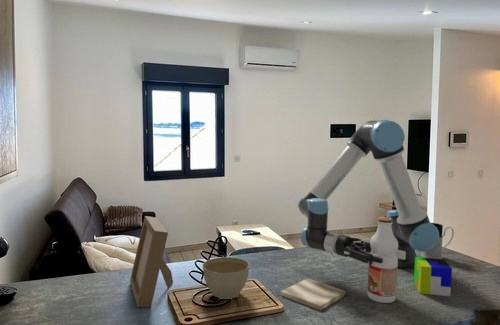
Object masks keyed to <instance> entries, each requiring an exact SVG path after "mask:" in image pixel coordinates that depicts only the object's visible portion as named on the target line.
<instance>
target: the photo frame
mask: <svg viewBox="0 0 500 325" xmlns="http://www.w3.org/2000/svg"><path fill="white" fill-rule="evenodd" d="M140 231H141V232H140V235H139V239H138V245H137V249H136V253H135V257H134V262H133V266H132V269H131V275H130V277H129V278H130V279H129V283H130V287H131V289H132V294H133V297H134V300H135V304H136V307H137V308H139V307H140V308H152V303H153V300H154V296H155V292H156V287H157V284H158V283H157V282H158V279H159V274H160V272H161V275H162V277H163V280H164V282H165V284H166V287H167V288H170V287H171V285H172V284H173V283H174V280H173V275H172V274H173V273H172V270H171V269H170V268H169V266H168V265H167V263H166V261H165V260H164V259H163V257H164V252H165V248H166V244H167V241H168V240H167V239H168V234H169V232H168V231H167V229H166V228H165V227H164V225H163V224H162V223H161V221H160V220H159V219H158V217H154V216H149V215H148V216H147V215H144V219H143V222H142V226H141V230H140Z"/></svg>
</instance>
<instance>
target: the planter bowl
mask: <svg viewBox="0 0 500 325" xmlns="http://www.w3.org/2000/svg"><path fill="white" fill-rule="evenodd" d="M250 265H251V264H250V263H249V261H248V260H245V259H243V258H239V257H234V256H233V257H232V256H231V257H229V256H227V257H226V256H222V257H215V258H210V259H207V260H205V262H203V264H202V269H203V270H202V271H203V278H204V281H205V282H204V283H205V284H206V287H207V288H208V290H210V292H211V296H212V297H213V296H215V297H218V298H222V299H231V300H233V299H232V298H235V297H237V298H238V297H240V295H241V292H242V290H244V288H245V286H246V283H247V282H248V278H249V272H250V271H249V270H250ZM235 299H236V298H235Z"/></svg>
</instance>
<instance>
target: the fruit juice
mask: <svg viewBox="0 0 500 325" xmlns="http://www.w3.org/2000/svg"><path fill="white" fill-rule="evenodd" d="M392 223H393V219H392V218H390V217H386V216H379V217H377V224H378V225H377V229H376V231H375V232H374V234H373V235H372V236H371V238H370V239H369V240H370V241H369V243H370V247H371V252H370V254H372V255H373V256H374V254H377V255H381V256H385V257H389V258H393V259H394V267H389V266H385V265H382V264H378V263H374V262H373V264H372V265H370V264H369V263H368V272H367V273H368V274H367V297H368V298H369V299H370V300H372V301H374V302H377V303H379V304H391V303H394V302H395V301H396V298H397V287H398V285H397V283H398V268H399V267H398V258H397V255H396V252H397V249H398V241H397V239H396V238H395V236H394V234H393V231H392Z"/></svg>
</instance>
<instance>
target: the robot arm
mask: <svg viewBox="0 0 500 325" xmlns="http://www.w3.org/2000/svg"><path fill="white" fill-rule="evenodd" d="M405 138H406V137H405V131H404V129H403V128H402V126H401V125H400V124H399V123H397V122H395V121H392V120H389V119H382V120H369V121H366V122H365V123H363V124H361V126H359V127H358V129H357V130H356V131H355V132H354V133H353V134H352V135H351V137H350V138H349V139H348V140H347V142H346V147H345V148H344V149H343V150H342V152H341V153H340V154H339V155H338V157H337V158H336V159H335V160H334V162H333V163H332V164H331V166H330V167H329V168H328V169H327V170H326V172H324V174H323V175H322V177H321V178H320V179H319V180H318V181H317V183H316V184H315V185H314V187H313V188H312V189H311V190H310V191H309V192H308V193H307V194H306V196H302V197H301V198H300V199H299V201H298V203H297V207H298V210H299V211H300V213H301V214H302V215H304V216H305V217H306V218H307V227H304V228H303V229H302V231H301V235H300V242H301V244H302V245H303V246H305V247H308V248H310V249H313V250H317V251H318V250H319V251H321V252H322V251H323V252H326V253H330V255H337V256H341V257H345V258H348V257H349V258H351V259H354V260H356V261H359V262H361V263H364V264H368V265H369V264H370V265H372V264H373V262H374V263H378V264H382V265H385V266H389V267H394V259H393V258H389V257H385V256H381V255H377V254H374V256H373V255H372V254H370V252H371V247H370V241H369V242H367V241H363V240H360V242H359V241H355V242H354V241H353V238H352V237H351V236H349V235H344V234H340V233H336V232H330V231H328V216H329V215H328V214H329V212H328V211H329V202H328V201H327V200H328V199H329V198H330V197H331V196H332V194H333V193H334V192H335V190H336V189H337V188H338V187H339V185H340V184H341V183H342V182H343V181H344V180H345V178H346V177H347V176H348V175H349V173H350V172H351V171H352V170H353V168H354V167H355V166H356V165H357V164H358V163H359V161H360V160H361V159H362V158H366V157H367V156H368V155H369V153H370V152H371V154H372V157H373V160H375V161H378V162H379V164H380V168H381V171H382V172H383V175H384V178H385V180H386V183H387V186H388V190H389V191H390V195H391V197H392V200H393V203H394V206H395V208H396V209H391V210H388V211H387V212H386V216H385V217H390V218H392V219H393V223H392V231H393V234H394V236H395V238H396V239H397V241H398V249H397V252H396V255H397V258H398V268H403V269H404V268H405V269H407V268H415V257H418V256H417V252H416V251H418V252H423V251H428V250H430V249H432V248H433V247H434V246H435V245H436V243H437V242H438V239H439V231H438V229H437V228H436V227H435V226H434V225H433V224H431V223H432V222H431V221H430V218H429V215H428V213H427V212H426V211H425V210H423V209H422V208H421V206H420V202H419V200H418V196H417V194H416V191H415V189H414V186H413V183H412V180H411V177H410V174H409V172H408V171H409V170H408V168H407V166H406V163H405V160H404V157H403V153H404V152H405V147H404V141H405Z"/></svg>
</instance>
